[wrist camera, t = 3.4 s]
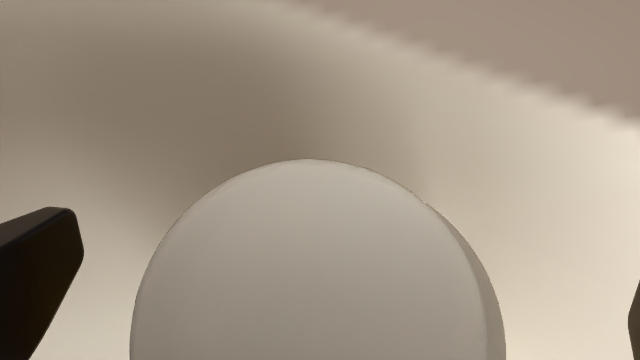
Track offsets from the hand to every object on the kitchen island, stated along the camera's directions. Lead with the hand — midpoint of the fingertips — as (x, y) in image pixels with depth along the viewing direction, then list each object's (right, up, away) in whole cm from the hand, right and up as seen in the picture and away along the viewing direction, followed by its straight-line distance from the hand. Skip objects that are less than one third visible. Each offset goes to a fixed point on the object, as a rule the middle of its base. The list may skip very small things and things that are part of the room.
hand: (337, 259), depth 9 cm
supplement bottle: (+1, -3, +6) cm, 7 cm away
